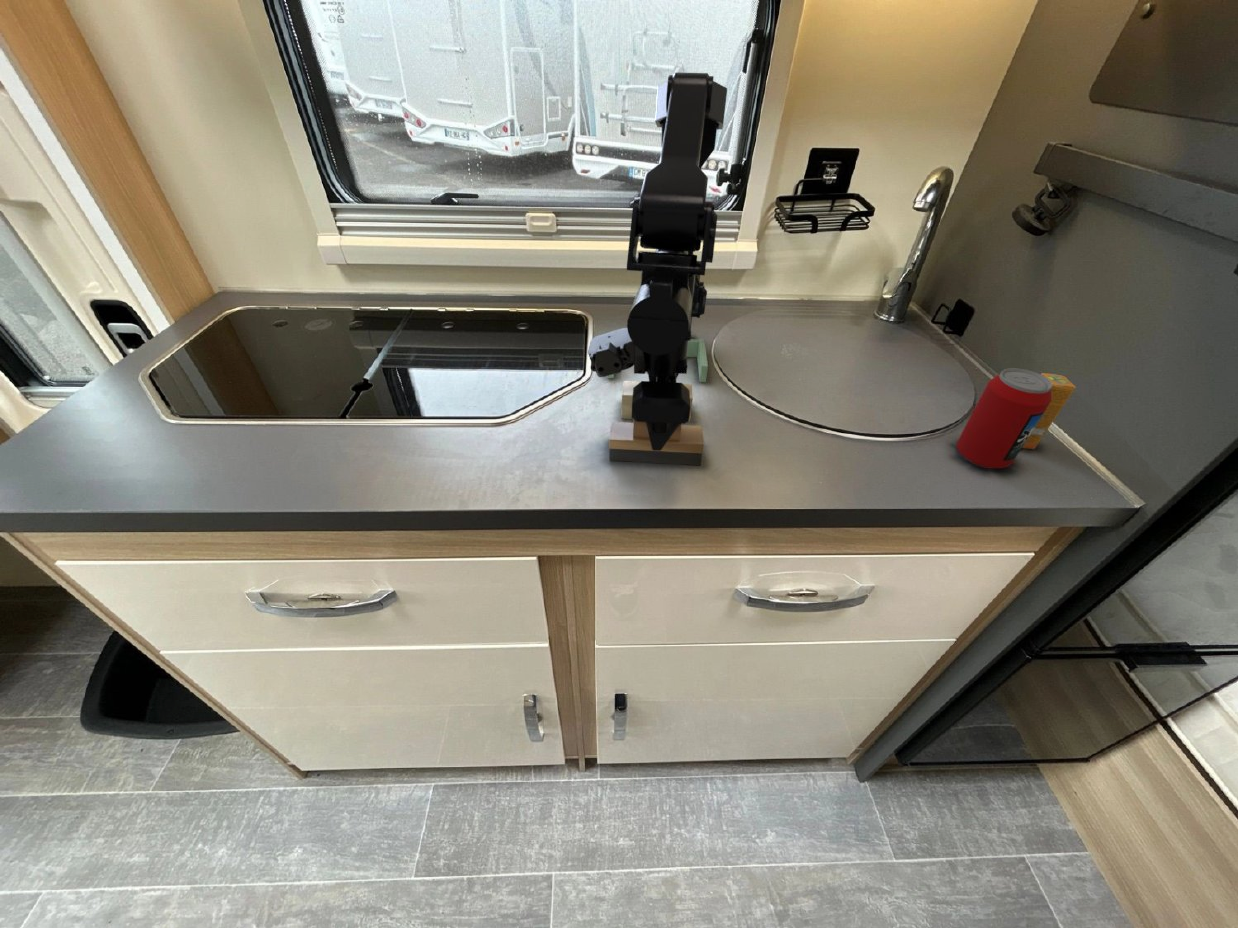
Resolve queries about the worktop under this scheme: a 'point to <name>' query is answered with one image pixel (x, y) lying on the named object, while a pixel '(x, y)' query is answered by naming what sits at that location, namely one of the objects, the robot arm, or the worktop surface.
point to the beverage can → (1004, 417)
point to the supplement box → (1051, 407)
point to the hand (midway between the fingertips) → (656, 428)
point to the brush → (636, 447)
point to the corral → (696, 350)
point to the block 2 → (690, 397)
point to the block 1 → (627, 398)
